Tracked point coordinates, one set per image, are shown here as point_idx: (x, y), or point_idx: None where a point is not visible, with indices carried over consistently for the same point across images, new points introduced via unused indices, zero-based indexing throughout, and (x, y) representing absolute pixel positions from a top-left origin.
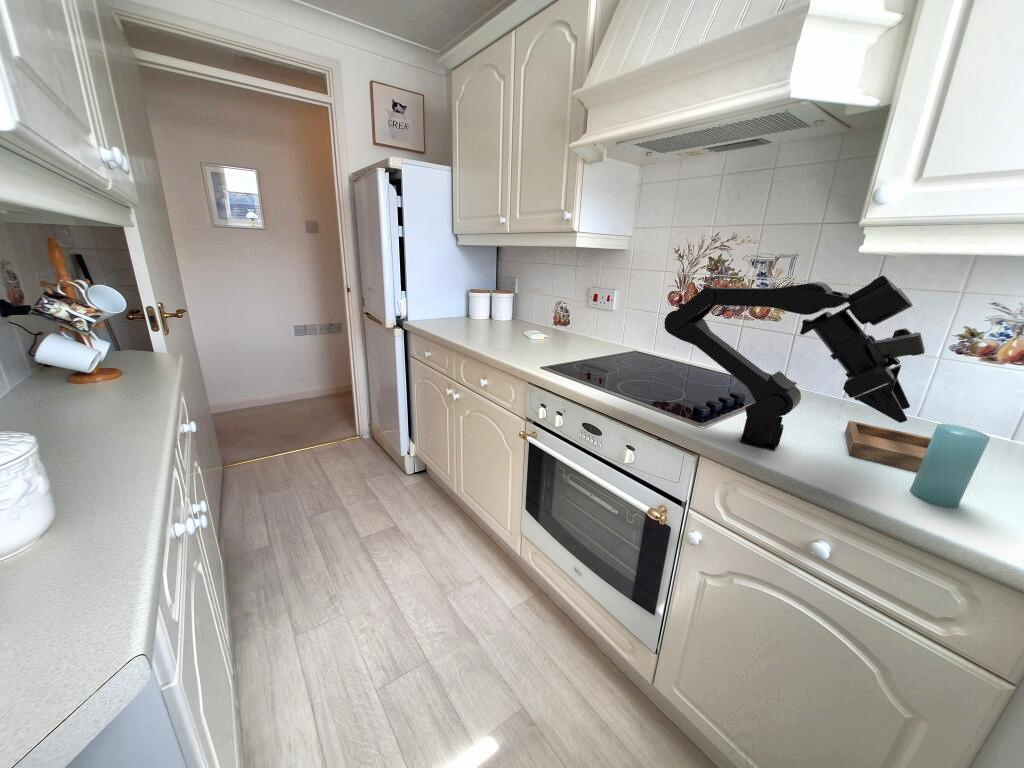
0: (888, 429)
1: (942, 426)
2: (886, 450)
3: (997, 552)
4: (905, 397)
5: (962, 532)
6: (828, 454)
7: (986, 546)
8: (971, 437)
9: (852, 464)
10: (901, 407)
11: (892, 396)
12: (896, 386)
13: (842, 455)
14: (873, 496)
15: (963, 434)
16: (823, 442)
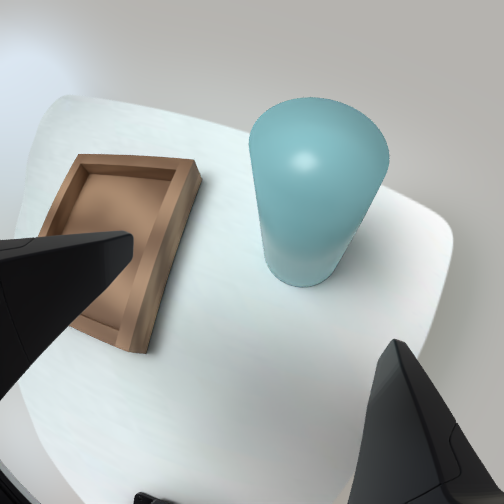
0: (42, 231)
1: (295, 180)
2: (149, 284)
3: (444, 232)
4: (94, 242)
5: (415, 255)
6: (158, 401)
7: (437, 239)
8: (372, 143)
9: (194, 364)
10: (125, 265)
11: (484, 473)
12: (28, 271)
13: (149, 368)
14: (357, 371)
15: (354, 151)
16: (93, 380)
